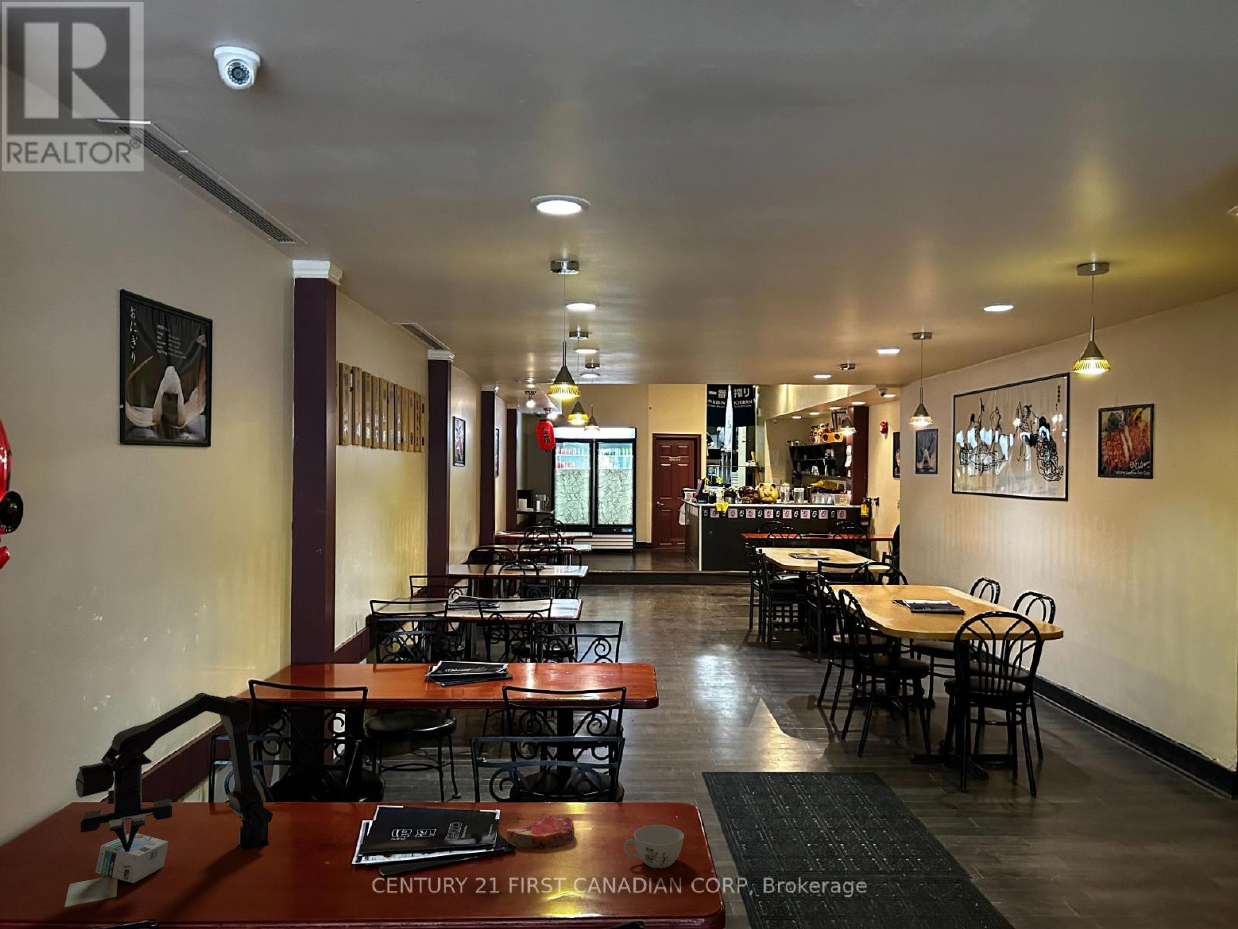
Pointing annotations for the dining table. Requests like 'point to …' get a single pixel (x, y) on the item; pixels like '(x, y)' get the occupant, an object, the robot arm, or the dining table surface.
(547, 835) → the steak
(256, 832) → the robot arm
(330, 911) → the dining table surface
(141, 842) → the light bulb box
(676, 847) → the teacup
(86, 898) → the gray and beige tray
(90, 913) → the dining table surface
